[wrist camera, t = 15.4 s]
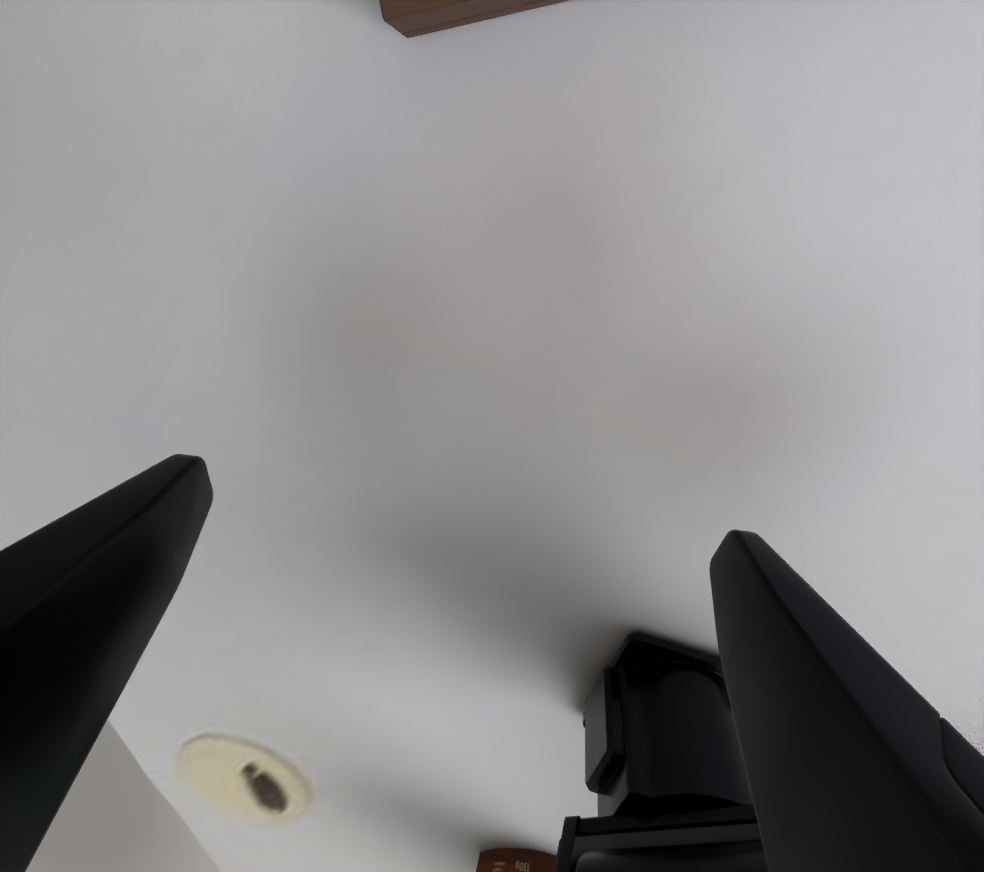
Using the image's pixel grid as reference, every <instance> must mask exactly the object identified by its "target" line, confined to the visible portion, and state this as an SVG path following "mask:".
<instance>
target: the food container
mask: <svg viewBox="0 0 984 872" xmlns="http://www.w3.org/2000/svg"><path fill="white" fill-rule="evenodd" d="M555 863H556V856H553V855H550V854H546V853H542V852H537V851H531V850H524V849H496V850H489V851H485V852H481V853H480V855H479V860H478V864H477V869H476V872H554V868H555Z"/></svg>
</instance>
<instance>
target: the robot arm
mask: <svg viewBox="0 0 984 872" xmlns="http://www.w3.org/2000/svg"><path fill="white" fill-rule="evenodd" d="M212 500H213V490H212V486H211V482H210V478H209V475H208V471H207V467H206V464H205V461H204V460H203V459H202V458H201V457H199V456H192V455H184V454H175V455H172V456H170V457H168V458H167V459H165V460H163V461H161V462H159V463H158V464H156V465H154V466H152V467H150V468H149V469H147V470H145V471H143V472H141V473H140V474H138V475H136V476H134V477H132V478H131V479H129V480H127V481H125V482H123V483H122V484H120V485H118V486H116V487H114V488H113V489H111V490H109V491H107V492H106V493H104V494H102V495H100V496H98V497H97V498H95V499H93V500H91V501H89V502H88V503H86V504H84V505H82V506H80V507H79V508H77V509H75V510H73V511H71V512H70V513H68V514H66V515H64V516H62V517H61V518H59V519H57V520H55V521H53V522H52V523H50V524H48V525H46V526H44V527H43V528H41V529H39V530H37V531H35V532H34V533H32V534H30V535H28V536H26V537H25V538H23V539H21V540H19V541H17V542H16V543H14V544H12V545H10V546H8V547H7V548H5V549H3V550H1V551H0V872H25V871H26V869H27V868H28V866H29V864H30V862H31V860H32V858H33V856H34V854H35V853H36V851H37V849H38V847H39V845H40V843H41V841H42V840H43V838H44V836H45V834H46V832H47V830H48V828H49V827H50V825H51V823H52V821H53V819H54V817H55V816H56V814H57V812H58V810H59V808H60V806H61V804H62V803H63V801H64V799H65V797H66V795H67V793H68V791H69V790H70V788H71V786H72V784H73V782H74V780H75V778H76V776H77V775H78V773H79V771H80V769H81V767H82V765H83V764H84V761H85V760H86V758H87V756H88V754H89V752H90V750H91V749H92V747H93V745H94V743H95V741H96V739H97V738H98V735H99V734H100V732H101V730H102V728H103V726H104V724H105V723H106V721H107V719H108V717H109V715H110V713H111V711H112V710H113V708H114V706H115V704H116V702H117V700H118V698H119V697H120V695H121V693H122V691H123V689H124V687H125V685H126V684H127V682H128V680H129V678H130V676H131V674H132V672H133V671H134V669H135V667H136V665H137V663H138V661H139V659H140V658H141V656H142V654H143V652H144V650H145V648H146V646H147V645H148V643H149V641H150V639H151V637H152V635H153V633H154V632H155V630H156V628H157V626H158V624H159V622H160V620H161V619H162V617H163V615H164V613H165V611H166V609H167V607H168V606H169V604H170V602H171V600H172V598H173V596H174V594H175V592H176V590H177V588H178V586H179V584H180V582H181V579H182V577H183V575H184V572H185V570H186V568H187V565H188V562H189V560H190V557H191V555H192V552H193V550H194V547H195V545H196V542H197V540H198V537H199V535H200V532H201V530H202V527H203V525H204V522H205V520H206V517H207V515H208V512H209V510H210V507H211V504H212ZM710 579H711V588H712V597H713V606H714V615H715V624H716V633H717V641H718V648H719V654H720V658H717V657H714V656H711V655H708V654H705V653H701V652H698V651H695V650H692V649H689V648H686V647H683V646H680V645H676V644H673V643H670V642H667V641H664V640H661V639H658V638H655V637H651V636H648V635H645V634H642V633H631V634H629V635H628V636H627V637H626V639H625V640H624V642H623V644H622V646H621V648H620V649H619V651H618V653H617V655H616V657H615V658H614V660H613V662H612V664H611V665H610V666H607V667H606V668H604V669H603V670H602V672H601V674H600V676H599V678H598V679H597V681H596V683H595V685H594V687H593V689H592V690H591V692H590V694H589V696H588V698H587V699H586V702H585V712H584V714H583V725H584V727H585V782H586V785H587V787H588V789H589V790H590V791H592V792H595V793H598V817H590V818H581V817H580V816H569V817H565V821H564V826H563V831H562V837H561V839H560V841H559V846H558V852H557V857H556V863H555V868H554V872H984V756H983V755H982V754H981V753H980V752H979V751H978V750H977V749H975V748H974V747H973V746H972V745H971V744H970V743H969V742H968V741H967V740H966V739H965V738H964V737H963V736H962V735H961V734H960V733H959V732H958V731H957V730H956V729H955V728H954V727H953V726H952V725H951V724H950V723H949V722H948V721H947V720H946V719H945V718H940V714H939V713H938V711H937V710H936V709H934V708H933V707H932V706H931V705H930V704H929V703H928V702H927V701H926V700H925V699H924V698H923V697H922V696H921V695H920V694H919V693H918V692H917V691H916V690H915V689H914V688H913V687H912V686H911V685H910V684H909V683H908V682H907V681H906V680H905V679H904V678H903V677H902V676H901V675H900V674H899V673H898V672H897V671H896V670H895V669H894V668H893V667H892V666H891V665H890V664H889V663H888V662H887V661H886V660H885V659H884V658H883V657H882V656H881V655H880V654H879V653H878V652H877V651H876V650H875V649H874V648H873V647H872V646H871V645H870V644H869V643H868V642H866V641H865V640H864V639H863V638H862V637H861V636H860V635H859V634H858V633H857V632H856V631H855V630H854V629H853V628H852V627H851V626H850V625H849V624H848V623H847V622H846V621H845V620H844V619H843V618H842V617H841V616H840V615H839V614H838V613H837V612H836V611H835V610H834V609H833V608H832V607H831V606H830V605H829V604H828V603H827V602H826V601H825V600H824V599H823V598H822V597H821V596H820V595H819V594H818V593H817V592H816V591H815V590H814V589H813V588H812V587H811V586H810V585H809V584H808V583H807V582H806V581H805V580H804V579H803V578H802V577H801V576H800V575H798V574H797V573H796V572H795V571H794V570H793V569H792V568H791V567H790V566H789V565H788V564H787V563H786V562H785V561H784V560H783V559H782V558H781V557H780V556H779V555H778V554H777V553H776V552H775V551H774V550H773V549H772V548H771V547H770V546H769V545H768V544H767V543H766V542H765V541H764V540H763V539H762V538H761V537H760V536H759V535H757V534H756V533H754V532H749V531H741V530H731V531H730V532H728V533H727V535H726V536H725V538H724V539H723V541H722V542H721V544H720V546H719V547H718V549H717V550H716V552H715V554H714V555H713V557H712V559H711V562H710ZM634 644H641V645H634Z"/></svg>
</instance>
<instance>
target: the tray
mask: <svg viewBox="0 0 984 872" xmlns="http://www.w3.org/2000/svg"><path fill="white" fill-rule="evenodd" d="M379 1H380V6H381V11H382V16H383V19H384V21H385V22H387V23H388V24H390V25H391V26H392V27H394V28H395V29H396V30H398V31H399V32H401V33H402V34H403V35H404V36H406V37H408V38H409V37H414V36H418V35H422V34H427V33H431V32H435V31H439V30H444V29H448V28H452V27H456V26H461V25H465V24H469V23H474V22H478V21H482V20H486V19H491V18H495V17H499V16H503V15H508V14H512V13H516V12H521V11H525V10H529V9H533V8H538V7H542V6H546V5H550V4H555V3H559V2H563V1H568V0H379Z"/></svg>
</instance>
